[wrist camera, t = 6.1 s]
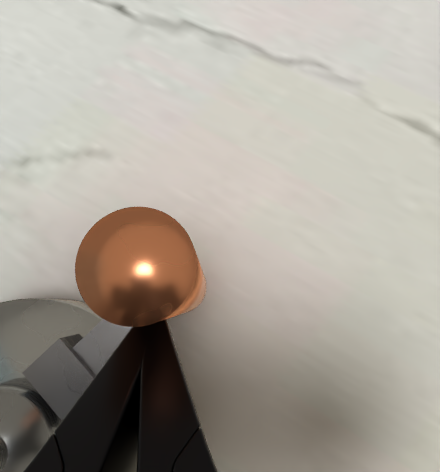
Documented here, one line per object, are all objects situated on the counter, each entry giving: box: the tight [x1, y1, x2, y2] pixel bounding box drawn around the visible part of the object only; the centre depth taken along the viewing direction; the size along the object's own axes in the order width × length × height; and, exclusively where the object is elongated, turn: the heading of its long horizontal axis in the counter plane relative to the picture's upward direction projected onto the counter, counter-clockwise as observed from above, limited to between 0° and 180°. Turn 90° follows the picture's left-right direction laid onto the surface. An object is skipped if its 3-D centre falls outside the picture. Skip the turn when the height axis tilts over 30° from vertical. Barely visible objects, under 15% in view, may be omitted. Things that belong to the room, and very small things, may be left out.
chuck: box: [0, 299, 103, 472], centre depth 12 cm, size 10×10×7 cm
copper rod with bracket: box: [22, 207, 206, 420], centre depth 11 cm, size 7×2×10 cm, turn 134°
